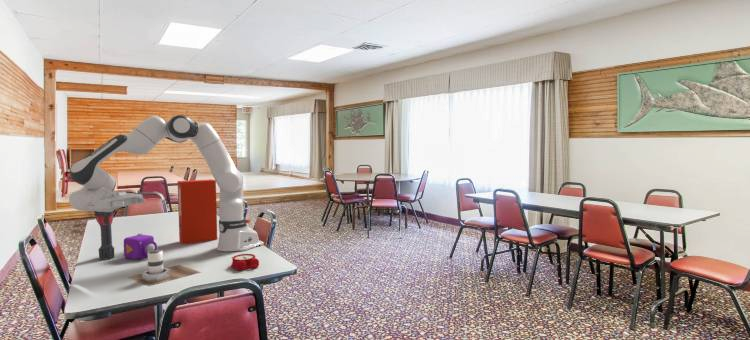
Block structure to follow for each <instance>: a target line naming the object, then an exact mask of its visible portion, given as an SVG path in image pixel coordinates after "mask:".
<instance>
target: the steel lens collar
mask: <svg viewBox="0 0 750 340" xmlns="http://www.w3.org/2000/svg"><path fill="white" fill-rule="evenodd" d="M167 268H168V267H164V272H163V273H159V274H149V270H145V271H144V272H142V273H141V274H142V280H143V281H146V282H157V281H161V280H165V279H168V278H169V277H170V269H167Z"/></svg>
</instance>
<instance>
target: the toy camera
mask: <svg viewBox="0 0 750 340" xmlns="http://www.w3.org/2000/svg"><path fill="white" fill-rule="evenodd" d="M153 250H158V244H157V243H156V241H155V239H154V236H153V235H148V234H143V233H137V234H136V235H132V236H128V237H124V238H123V254H124V255H123V256H124V257H125V258H126V259H132V260H141V259H144V258H148V252H149V251H153Z"/></svg>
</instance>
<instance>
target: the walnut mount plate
mask: <svg viewBox="0 0 750 340" xmlns="http://www.w3.org/2000/svg"><path fill="white" fill-rule="evenodd" d="M166 268H167V269H170V277H169V278H168V279H165V280H161V281H157V282H146V281H143V280H142V273H140V274H135V275H131V276H128V277H127V278H129V279H131V280H133V281H135V282H138V283H141V284H143V285H145V286H147V287H151V286H155V285H160V284H163V283H166V282H170V281H173V280H178V279H182V278H186V277H189V276H193V275H197V274H200V273H202V271H199V270H196V269H193V268H190V267H187V266H184V265H181V264H178V265H174V266H173V265H172V266H168V267H166Z"/></svg>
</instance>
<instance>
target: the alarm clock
mask: <svg viewBox="0 0 750 340" xmlns="http://www.w3.org/2000/svg"><path fill="white" fill-rule="evenodd" d="M231 259H232V262H231V265H230V267H231V268H232V269H235V270H236V271H244V270H246V269H247V270H248V269H253V270H254V269H256V268H258V267H259V265H260V260H259V259H258V258H256V255H255V254H252V253H240V254H237V255H233V256H232V257H231Z"/></svg>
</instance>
